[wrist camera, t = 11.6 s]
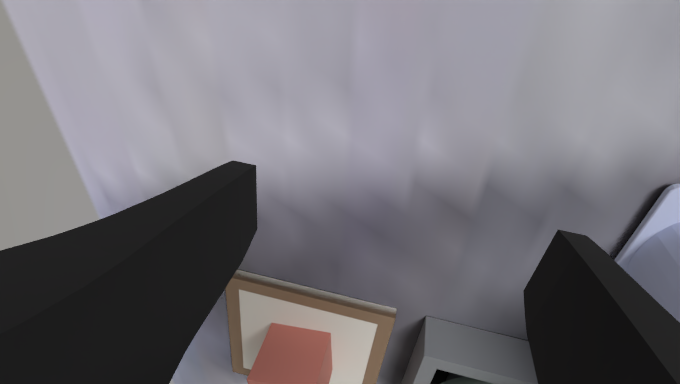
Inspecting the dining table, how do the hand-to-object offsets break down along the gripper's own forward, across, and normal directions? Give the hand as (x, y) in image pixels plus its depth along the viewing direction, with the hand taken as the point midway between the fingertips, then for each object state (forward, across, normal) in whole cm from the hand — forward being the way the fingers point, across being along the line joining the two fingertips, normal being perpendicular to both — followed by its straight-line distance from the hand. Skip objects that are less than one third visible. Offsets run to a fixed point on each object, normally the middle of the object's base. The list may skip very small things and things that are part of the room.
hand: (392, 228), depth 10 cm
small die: (+10, +4, +21) cm, 23 cm away
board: (+10, +4, +21) cm, 24 cm away
